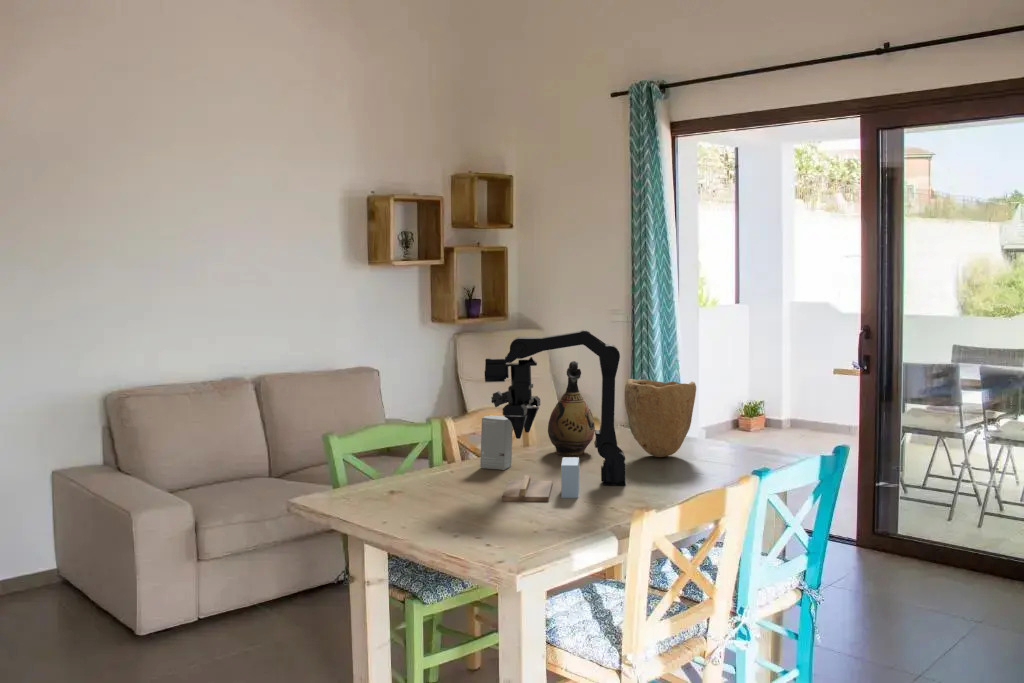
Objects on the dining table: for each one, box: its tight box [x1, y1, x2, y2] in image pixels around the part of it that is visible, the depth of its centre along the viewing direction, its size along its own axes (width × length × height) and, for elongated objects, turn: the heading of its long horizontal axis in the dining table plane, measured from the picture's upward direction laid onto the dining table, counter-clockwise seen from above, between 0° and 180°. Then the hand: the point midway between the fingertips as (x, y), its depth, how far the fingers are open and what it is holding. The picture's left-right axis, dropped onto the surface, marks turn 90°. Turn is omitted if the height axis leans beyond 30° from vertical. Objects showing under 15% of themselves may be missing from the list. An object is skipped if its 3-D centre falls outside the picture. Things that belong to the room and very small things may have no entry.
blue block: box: [560, 456, 580, 499], centre depth 269 cm, size 4×10×9 cm, turn 174°
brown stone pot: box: [624, 378, 697, 458], centre depth 312 cm, size 22×22×25 cm
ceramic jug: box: [547, 360, 596, 457], centre depth 322 cm, size 17×15×30 cm
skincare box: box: [479, 414, 514, 471], centre depth 302 cm, size 8×7×16 cm
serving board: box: [501, 474, 554, 502], centre depth 271 cm, size 12×18×3 cm
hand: (522, 435), depth 280 cm, fingers open, 9 cm apart
